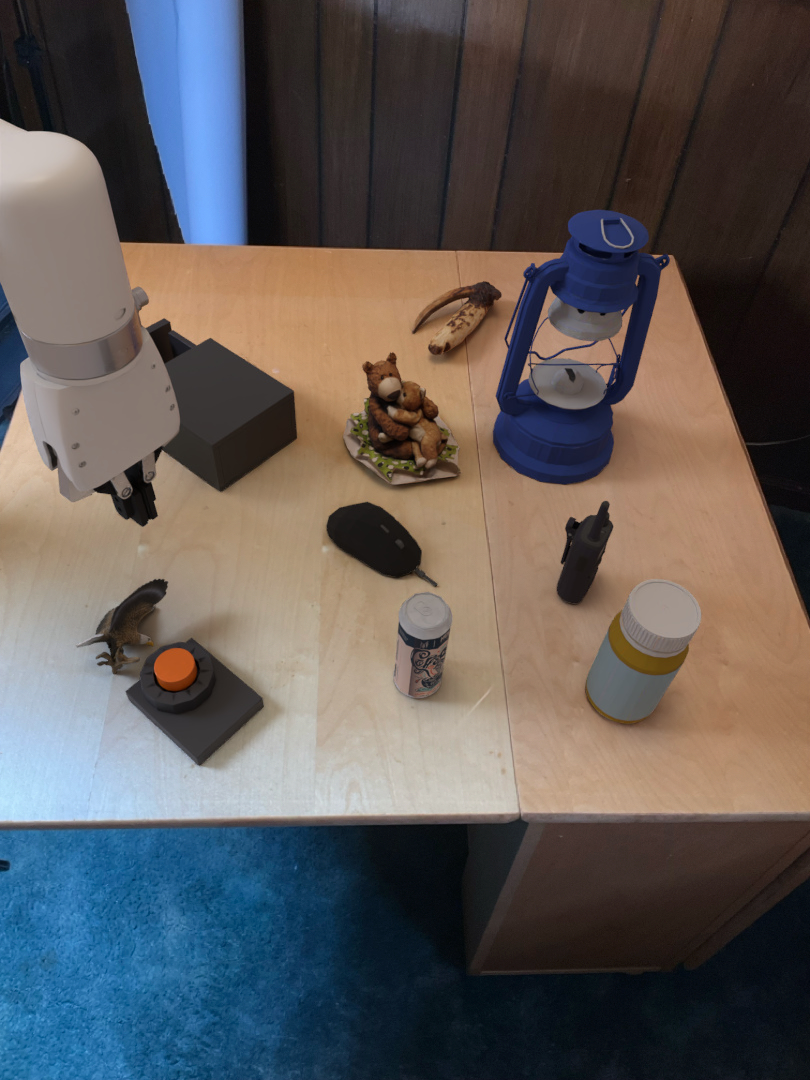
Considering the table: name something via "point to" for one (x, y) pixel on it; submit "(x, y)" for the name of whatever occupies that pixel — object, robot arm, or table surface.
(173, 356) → the open drawer
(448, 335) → the lashed bone hook
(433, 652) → the beer can
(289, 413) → the black drawer box
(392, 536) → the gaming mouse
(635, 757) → the table surface
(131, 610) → the eagle figurine
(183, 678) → the button
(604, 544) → the two-way radio
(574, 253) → the lantern
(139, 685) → the control block
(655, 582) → the bottle
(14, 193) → the robot arm
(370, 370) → the bear figurine
